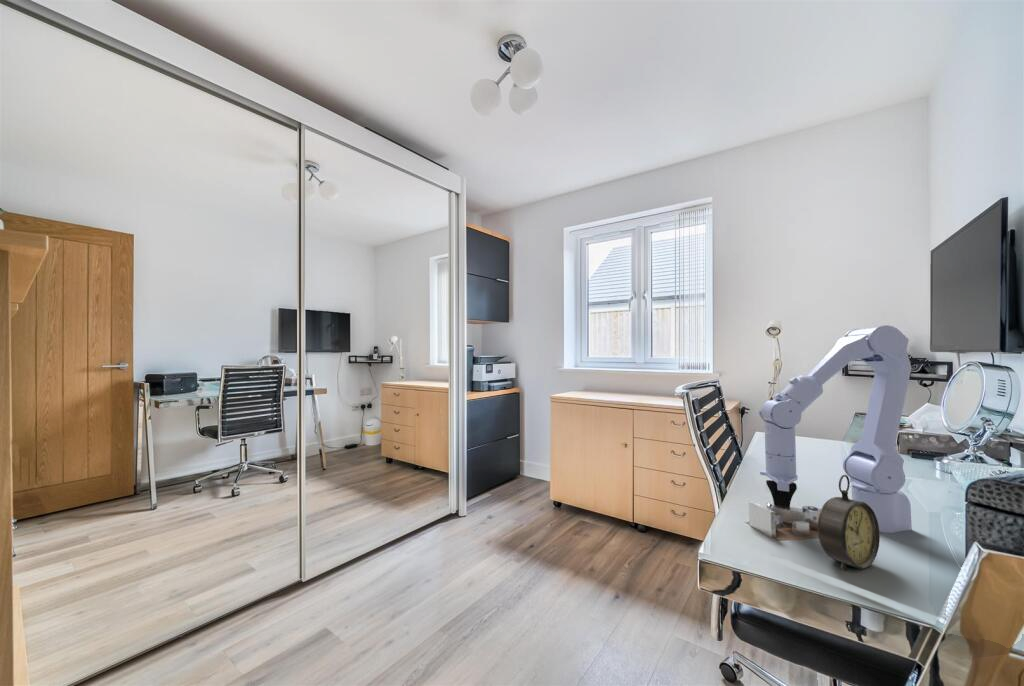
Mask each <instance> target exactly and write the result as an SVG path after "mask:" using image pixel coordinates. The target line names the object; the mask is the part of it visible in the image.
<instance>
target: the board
mask: <svg viewBox="0 0 1024 686" xmlns="http://www.w3.org/2000/svg"><path fill="white" fill-rule="evenodd" d="M744 523H745V524H746V525H748V526H750V527H752V526H751V525H750V522H749V521H744ZM754 529H755V530H757V531H759V530H758V529H756V528H754ZM763 534H764V535H766V536H768V535H767V534H765V533H763ZM771 539H774V540H775V541H777V542H778V541H779V542H781V541H782V542H783V541H795V540H798V541H799V540H809V539H810V540H814V539H819V536H818V530H815V529H810V528H809V534H801V535H796V534H794V533H792V524H791V523H786V522H783V528H782V529H780V530H776V537H771Z"/></svg>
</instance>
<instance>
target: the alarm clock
mask: <svg viewBox="0 0 1024 686" xmlns="http://www.w3.org/2000/svg"><path fill="white" fill-rule="evenodd" d="M844 477H845V478H846V482H847V487H846V490H845V489H844V490H843V489H842V481H843V479H844ZM850 484H851V482H850V477H849V476H848V475H847V474H843V475H841V476H840V478H839V479H838V490H839V491H840V493H841V496H835V497H831V498H829V499H828V500H826V501H825V503H824V504H823V506H822V507H821V508H820V509H821V511H820V514H819V518H818V536H819V538H818V540H819V543H820V546H821V548H822V550H823V551H824V552H825V554H826V555H827V556H828V557H829V558H830V559H832V560H834V561H836V562H839V563H840V565H839V570H840V571H845V570H846V568H847V566H850V567H853V568H855V569H859V570H864V569H867V568H869V567H871V565H872V564H873V563H874V561H875V560H876V557H877V556H878V551H879V548H880V532H879V525H878V521H877V518H876V515H875V513H874V511H873V510H872V508H871V507H870V506H869V505H868V504H866V503H864V502H860V501H855V500H852V498H849V495H848V494H849V490H850Z"/></svg>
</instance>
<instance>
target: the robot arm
mask: <svg viewBox="0 0 1024 686" xmlns="http://www.w3.org/2000/svg"><path fill="white" fill-rule="evenodd" d="M908 345H909V338H908V337H907V336H906V335H905V334H904V333H902V331H900V329H898V328H897V327H895V326H892V325H889V324H888V325H880V326H877V327H876V326H875V327H868V328H854V329H850V330H849V331H847V332H846V333H845V334H844V335H843V336H842V337H841V338H839V339H837V341H836V343H835V344H834V347H832V349H830V350H829V351H828V353H827V354H826V355H825V356H824V357H823V358H822V359H821V360H820V361H819V362H818V363H817V365H815V366H814V367H813V369H812V370H811V371H810V372H809V373H808V374H807V375H797V376H796V377H791V378H790V379H789V380H788V382H789V383H788V385H787V386H786V387H785V388H783V389H782V390H781V391H780V392H779V393H776V394H774V395H773V397H774V399H771V400H767V401H765V402H764V403H763V404H762V405H761V409H760V410H758V414H759V417H760V419H761V420H762V421H763V422H764V450H765V453H764V454H765V469H764V470H763V469H761V470H759V474H760V475H762V476H765V477H767V478H769V479H767V480H765V482H766V486H767V487H768V489H769V492H770V494H771V497H772V501H773V504H776V505H782V506H788V507H791V502H792V499H793V496H794V495H795V493H796V492H797V489H798V487H797V483H796V481H798V475H797V452H796V451H797V450H796V447H797V445H796V425H799V424H800V422H801V420H802V413H803V412H805V410H806V409H807V408H809V407H810V406H811V405H812V404H813V403H814V402H815V401H816V400H817V399H818V398H819V397H820V396H821V395H823V392H824V389H823V385H825V383H826V382H828V381H829V380H830V379H831V378H832V377H834V376H835V375H836V374H838V373H839V372H840V371H841V370H842V369H843V368H845V367H846V366H847V365H848V364H849V363H851V362H852V361H856V360H857V361H858V360H860V361H861V362H864V363H865V364H866V365H868V366H869V368H870V369H872V370H873V371H874V376H873V381H872V385H871V391H870V395H869V400H868V404H867V405H868V406H867V409H866V415H865V420H864V422H863V423H864V424H863V428H862V434H861V436H860V437H861V438H860V440H858V441H856V442H855V443H854V444H852V446H851V448H850V451H849V452H848V455H846V456H845V458H844V459H843V462H842V468H843V471H844V473H845V475H847V476H848V478H849V482H850V484H851V487H850V488H851V500H855V501H860V502H864V503H866V504H868V505H869V506H870V507H871V508H872V510H873V511H874V513H875V515H876V518H877V521H878V525H879V533H887V534H890V533H892V534H895V533H898V532H902V531H903V532H905V531H913V526H912V507H911V506H912V505H911V502H910V499H909V498H908V496H907V495H906V494H905V493H904V492H903V491H901V489H902V488H903V487H904V485H905V483H906V475H905V470H904V459H903V457H902V456H901V454H900V452H898V451H897V449H896V443H897V438H898V434H899V429H900V425H901V424H900V423H901V419H902V415H903V409H904V405H905V401H906V400H905V399H906V396H907V392H908V386H909V381H910V377H911V372H912V364H911V361H910V358H909V354H908V351H907V349H908Z"/></svg>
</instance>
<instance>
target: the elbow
mask: <svg viewBox="0 0 1024 686" xmlns="http://www.w3.org/2000/svg"><path fill="white" fill-rule="evenodd" d="M766 508H768V509H771V510H773V511H775V513H777V514H779V515H780V517H781V518H782V520H783V522H786V523H791V524H792V522H797V521H806V522H808V523H809V528H810V529H815V530H818V518H819V514H820V511H821V509H822V508H819V507H816V506H814V505H813V506H812V505H803V506H802V508H798V507H793V506H790V507H788V506H782V505H776V504H774V503H768V502H767V503H766Z"/></svg>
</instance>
